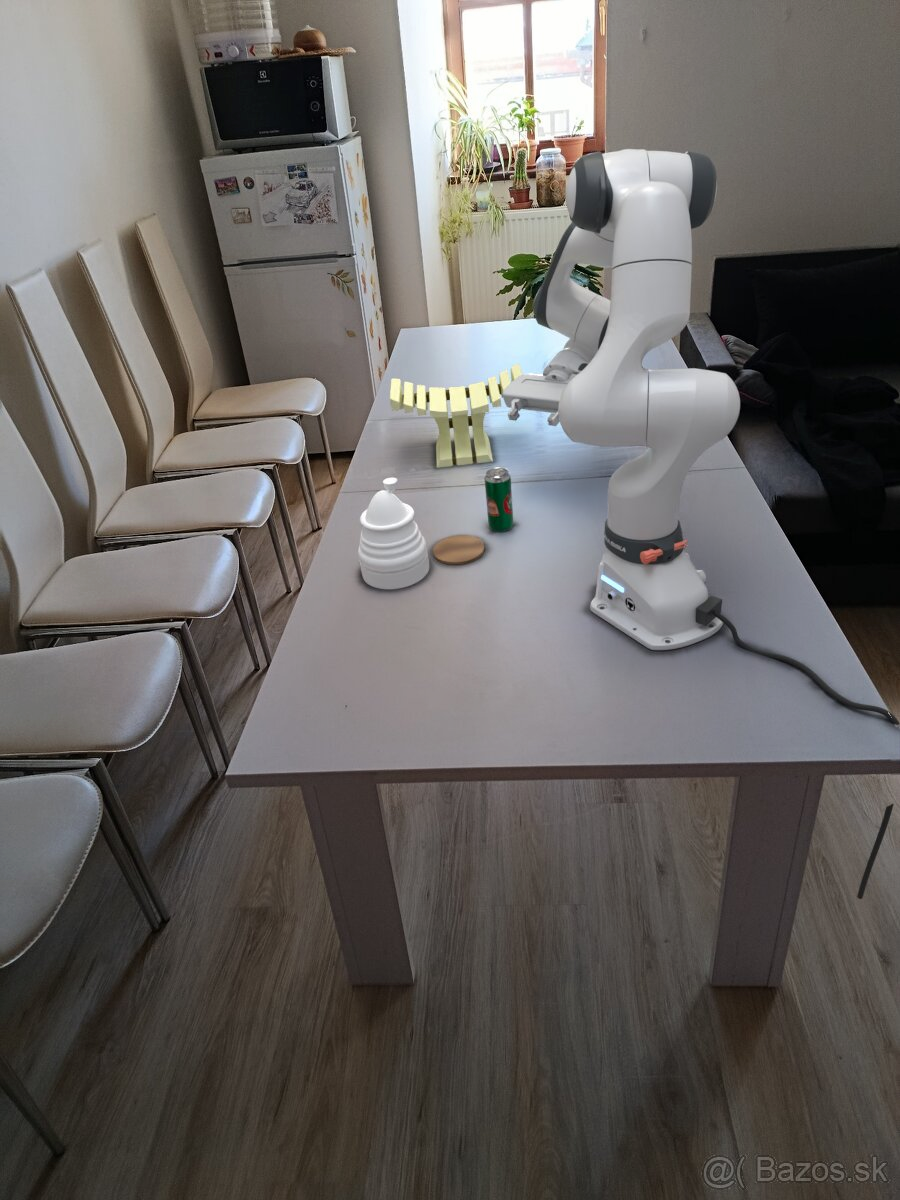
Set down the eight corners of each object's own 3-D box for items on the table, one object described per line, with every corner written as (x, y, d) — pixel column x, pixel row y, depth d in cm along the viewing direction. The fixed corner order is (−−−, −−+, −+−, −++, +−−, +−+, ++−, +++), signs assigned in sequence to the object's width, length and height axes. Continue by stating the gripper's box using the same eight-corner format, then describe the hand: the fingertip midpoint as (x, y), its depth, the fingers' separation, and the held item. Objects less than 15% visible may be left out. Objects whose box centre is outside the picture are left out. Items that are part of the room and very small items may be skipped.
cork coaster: (493, 555, 151) (492, 552, 151) (444, 570, 148) (444, 567, 148) (472, 532, 159) (471, 530, 158) (425, 546, 156) (425, 544, 156)
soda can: (484, 524, 161) (479, 471, 154) (506, 517, 162) (502, 464, 155) (495, 535, 157) (491, 480, 150) (518, 528, 158) (514, 473, 151)
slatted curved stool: (521, 430, 197) (517, 359, 187) (529, 457, 184) (525, 383, 174) (402, 443, 198) (391, 374, 188) (401, 471, 185) (389, 398, 175)
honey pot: (402, 545, 158) (389, 462, 147) (443, 568, 149) (432, 482, 139) (349, 571, 151) (331, 487, 141) (388, 597, 143) (372, 509, 133)
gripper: (519, 361, 165) (484, 401, 160) (606, 368, 153) (571, 412, 148) (526, 386, 170) (492, 426, 164) (612, 395, 158) (578, 439, 152)
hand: (530, 420), depth 156 cm, fingers open, 8 cm apart
